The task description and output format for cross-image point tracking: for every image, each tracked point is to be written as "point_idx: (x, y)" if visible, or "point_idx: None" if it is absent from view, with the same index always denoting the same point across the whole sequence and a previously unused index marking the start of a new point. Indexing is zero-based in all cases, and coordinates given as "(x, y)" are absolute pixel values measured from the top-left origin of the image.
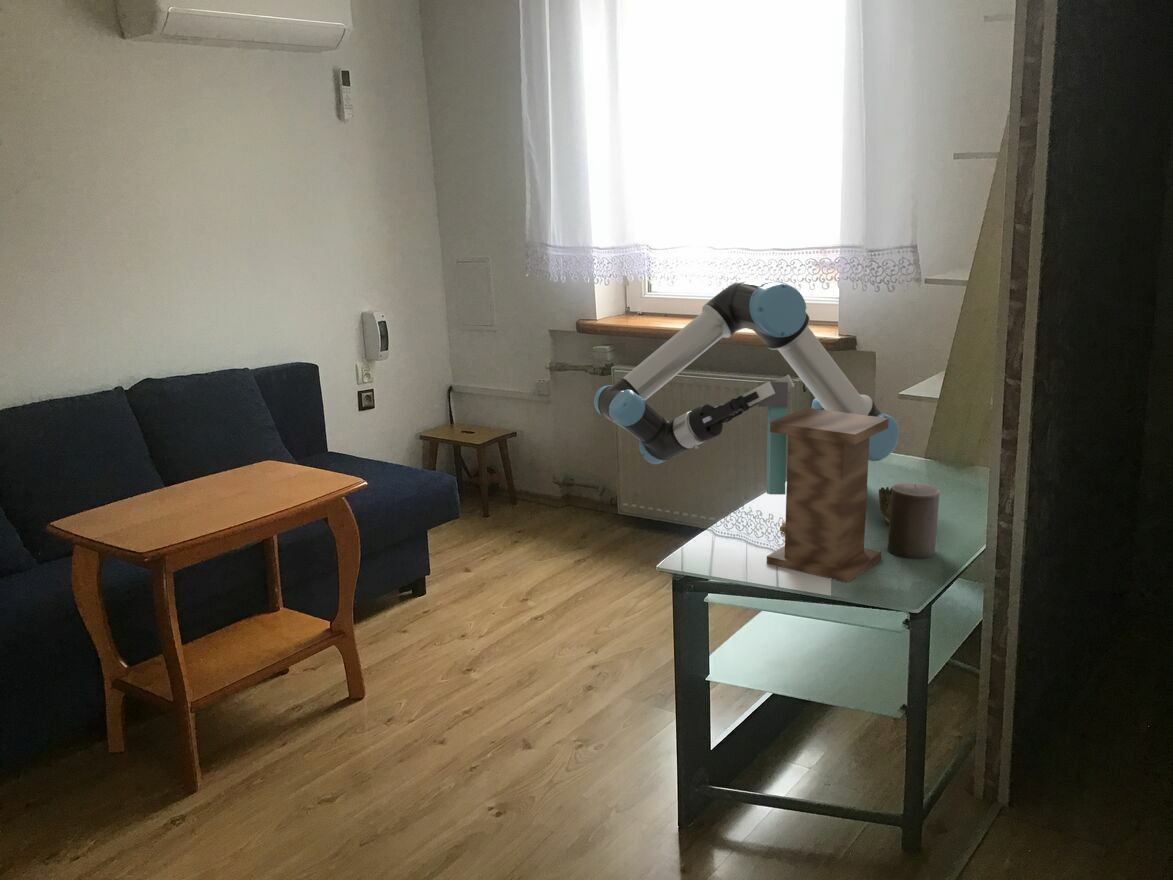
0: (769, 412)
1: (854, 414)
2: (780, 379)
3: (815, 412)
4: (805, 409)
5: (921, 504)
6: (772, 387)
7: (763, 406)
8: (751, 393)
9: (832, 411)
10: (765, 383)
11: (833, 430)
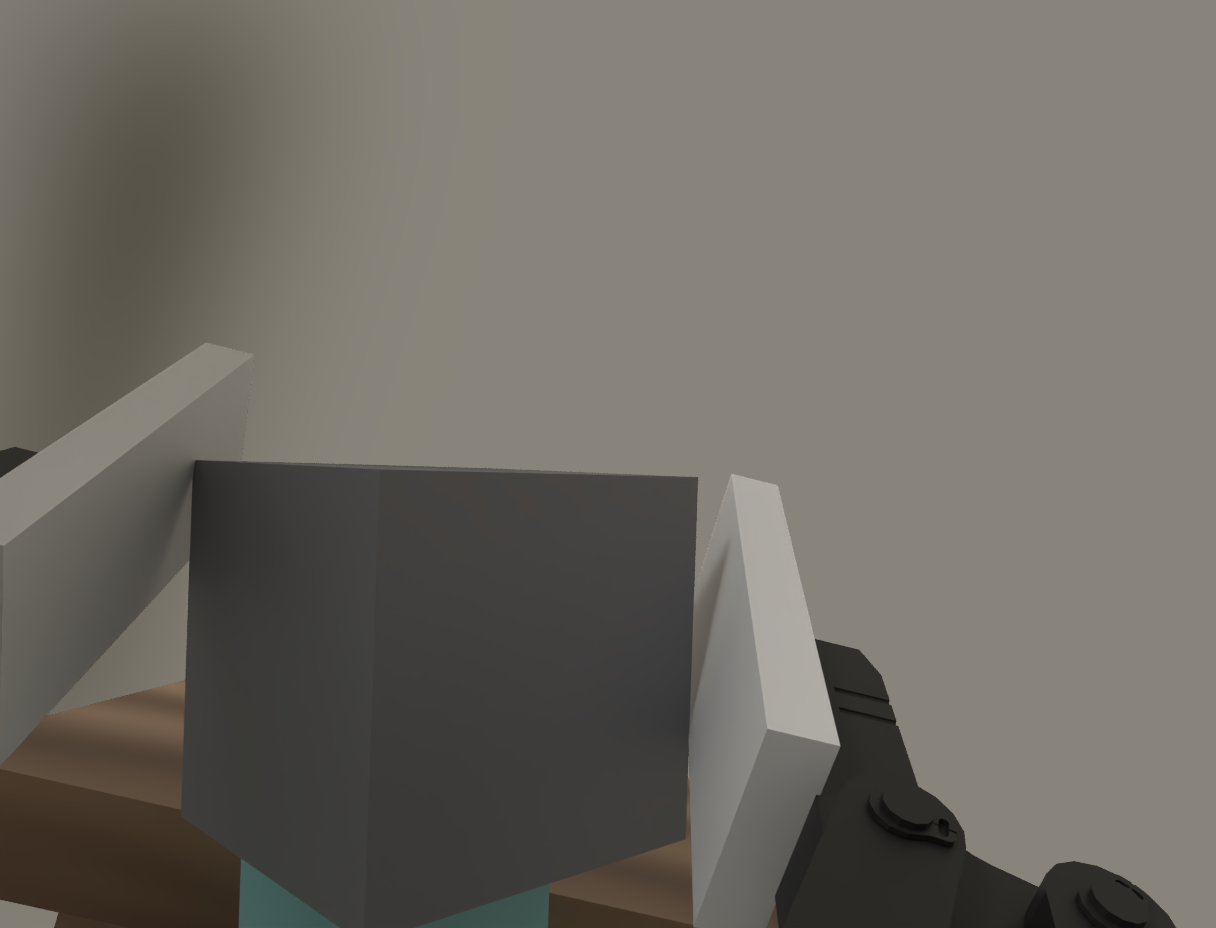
0: (476, 924)
1: (171, 693)
2: (199, 404)
3: (177, 758)
4: (42, 767)
5: None
6: (707, 550)
7: (634, 846)
8: (881, 678)
9: (93, 713)
10: (777, 506)
11: (689, 798)
